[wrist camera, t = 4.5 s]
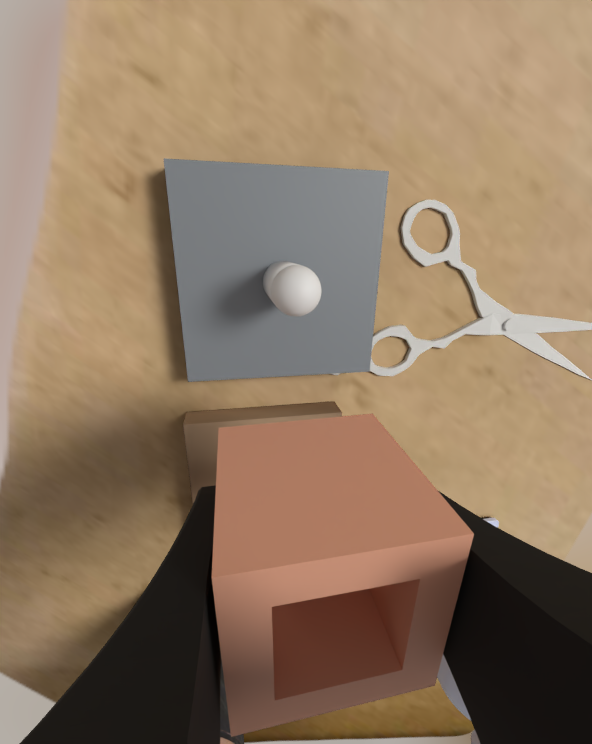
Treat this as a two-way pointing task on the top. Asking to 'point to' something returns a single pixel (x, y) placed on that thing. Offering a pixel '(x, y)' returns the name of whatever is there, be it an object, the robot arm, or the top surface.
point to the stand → (207, 423)
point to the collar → (328, 569)
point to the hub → (275, 266)
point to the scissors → (490, 312)
